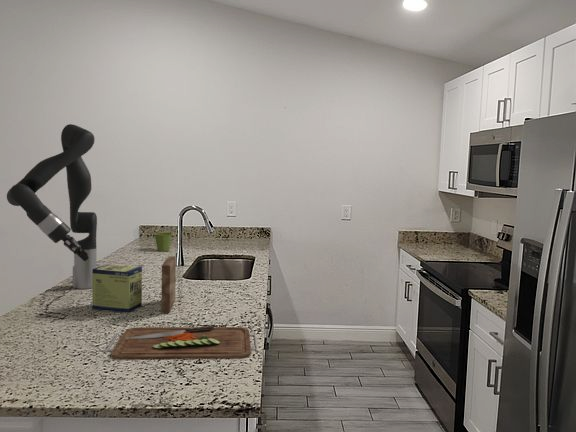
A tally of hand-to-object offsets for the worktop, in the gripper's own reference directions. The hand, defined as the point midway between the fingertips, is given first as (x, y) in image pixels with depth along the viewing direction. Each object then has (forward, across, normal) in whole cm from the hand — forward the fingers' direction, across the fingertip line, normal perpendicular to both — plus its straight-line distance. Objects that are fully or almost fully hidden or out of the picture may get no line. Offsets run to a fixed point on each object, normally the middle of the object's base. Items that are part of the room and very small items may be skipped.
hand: (86, 257), depth 197 cm
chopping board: (+33, -51, -4) cm, 61 cm away
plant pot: (+47, +125, -26) cm, 136 cm away
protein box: (+22, -4, +5) cm, 22 cm away
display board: (+34, -7, -8) cm, 36 cm away
